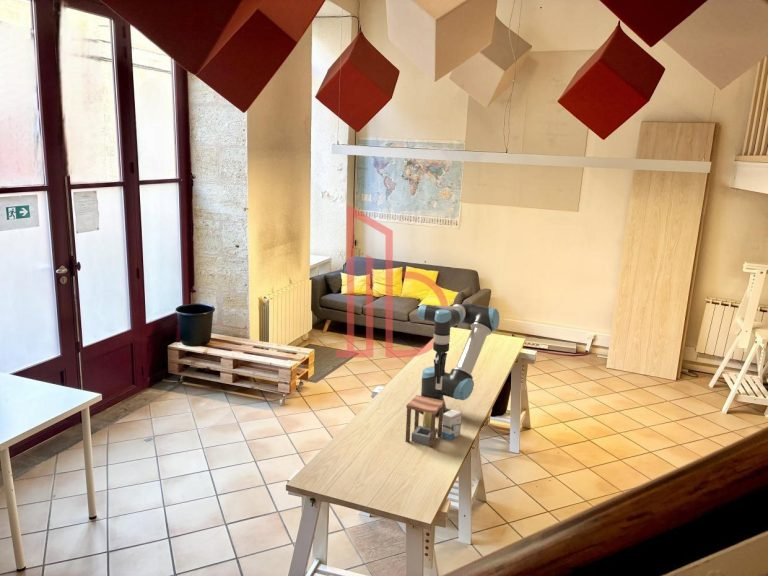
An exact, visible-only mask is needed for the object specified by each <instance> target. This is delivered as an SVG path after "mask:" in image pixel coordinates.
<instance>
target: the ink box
mask: <svg viewBox="0 0 768 576" xmlns="http://www.w3.org/2000/svg"><path fill="white" fill-rule="evenodd" d="M461 426H462V411H458V410H456V409H451V410H448V411H446V412H445V413H444V414H443V421H442V437H441V438H444V439H447V440H452V439H454V438H457V437H458V436H461Z"/></svg>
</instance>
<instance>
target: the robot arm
mask: <svg viewBox="0 0 768 576" xmlns="http://www.w3.org/2000/svg"><path fill="white" fill-rule="evenodd" d="M416 313H417V318H418V319H420V320H422V321H423V322H425V321H427V322H431V323H434V329H433V335H432V336H433V343H432V344H433V346H432V348H433V349H432V350H433V351H435V353H436V354H435V358H434V359H433V366H429V367H426V368H424V369H423V370H422V373H421V390H420V391H421V392H420V393H421V394H420V396H423V397H428V398H433V399H438V400H442V401H444V405H443V414H444V413H446V412H447V405H446V402H445V398H444V396H445V397H448V398H451V399H454V400H459V401H466V400H467V399H469V397H470V396H471V394H472V392H473V390H474V385H475V383H474V380H473V377H474V376H473V374H472V373H473V371H474V368H475V366H476V364H477V361H478V359H479V357H480V354H481V352H482V349H483V346H484V344H485V342H486V339H487V336H490V335H491V334H492V332H493V331H497V330H498V328H499V326H500V312H499V310H498V309H497V308H495V307H491V306H486V305H485V306H484V305H479V304H474V303H457V304H453V305H427V304H421V305H420V306H419V307H418V309H417V312H416ZM460 324H465V325H468V326H470V329H471V330H470V332H469V335H468V338H467V341H466V343H465V344H464V346H463V349H462V352H461V354H460V356H459V359H458V361H457V363H456V365H455V367H453V368H451V370H450V373H449V372H446V361H447V356H448V353H447V352H449V351H450V342H451V328H453V327H455V326H457V325H460ZM419 414H421V415H424V412H422V411H419ZM437 416H439V410H438V412H437V413H436V417H437Z"/></svg>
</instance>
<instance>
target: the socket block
mask: <svg viewBox="0 0 768 576" xmlns="http://www.w3.org/2000/svg"><path fill="white" fill-rule="evenodd" d="M413 430H414V429H413ZM430 433H431V428H426V427H423V425H418V427H417V428H416V429H415V430H414V431H413V432H411V437H410V439H411V440H410V441H411V442H413V443H417V444H421V445H425V446H430ZM436 438H437V429H435V435H434V440H435V439H436Z"/></svg>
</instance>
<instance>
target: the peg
mask: <svg viewBox="0 0 768 576" xmlns="http://www.w3.org/2000/svg"><path fill="white" fill-rule="evenodd" d="M422 415H423V416H422V417H423V418H422V420H423V421H422V427H426V428H431V415H432V414H431V413H426V412H424V414H422Z"/></svg>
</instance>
